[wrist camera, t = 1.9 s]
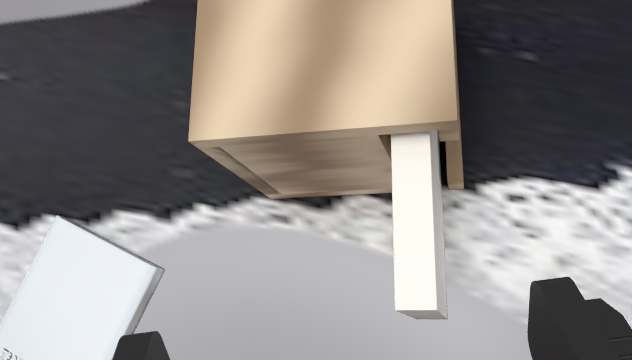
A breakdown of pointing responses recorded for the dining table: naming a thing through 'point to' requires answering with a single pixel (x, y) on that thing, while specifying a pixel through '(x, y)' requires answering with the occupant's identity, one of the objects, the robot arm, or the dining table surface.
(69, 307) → the external hard drive
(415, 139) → the cover plate
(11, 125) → the dining table surface
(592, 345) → the robot arm
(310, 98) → the box
